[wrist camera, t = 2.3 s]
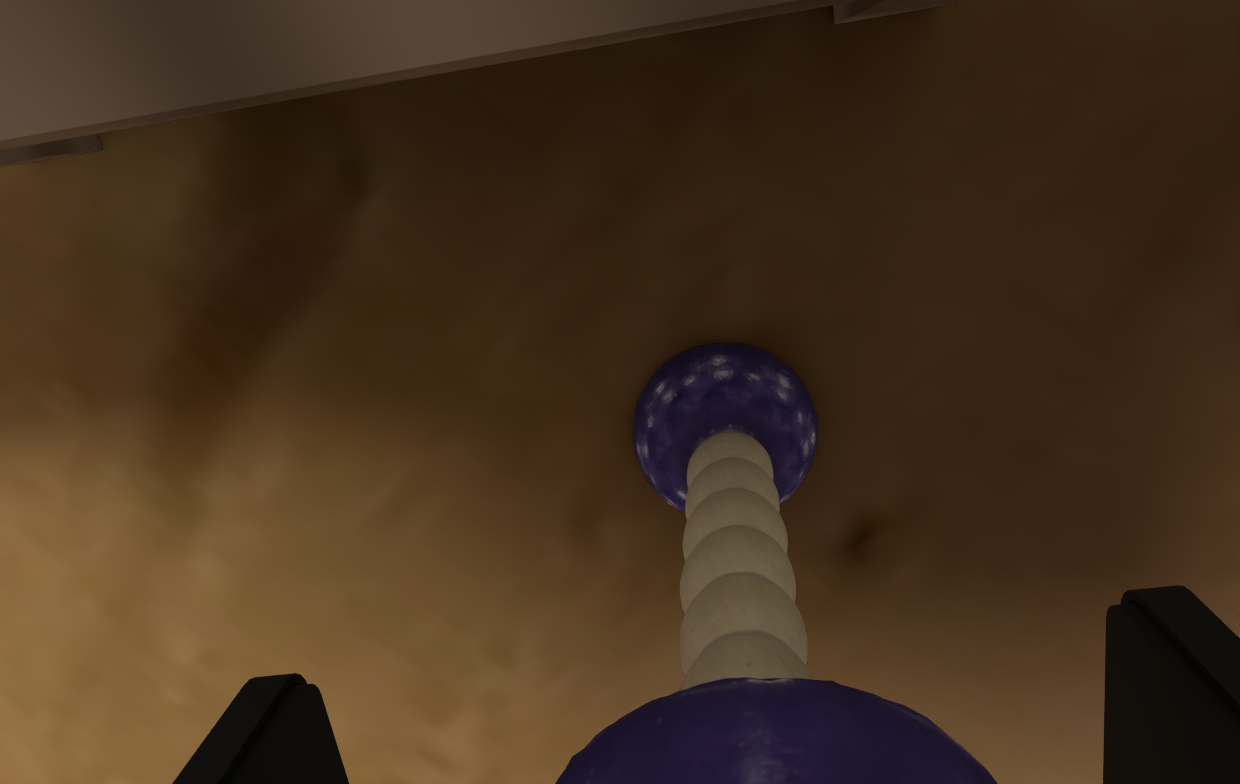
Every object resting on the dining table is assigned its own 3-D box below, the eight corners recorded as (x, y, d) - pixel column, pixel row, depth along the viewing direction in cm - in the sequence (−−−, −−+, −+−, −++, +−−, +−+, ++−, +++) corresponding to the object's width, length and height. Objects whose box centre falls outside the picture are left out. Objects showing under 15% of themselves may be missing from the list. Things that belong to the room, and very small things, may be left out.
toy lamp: (606, 342, 20) (263, 1268, 4) (810, 294, 19) (1304, 1202, 4) (657, 527, 21) (541, 1733, 6) (849, 488, 21) (1329, 1757, 5)
